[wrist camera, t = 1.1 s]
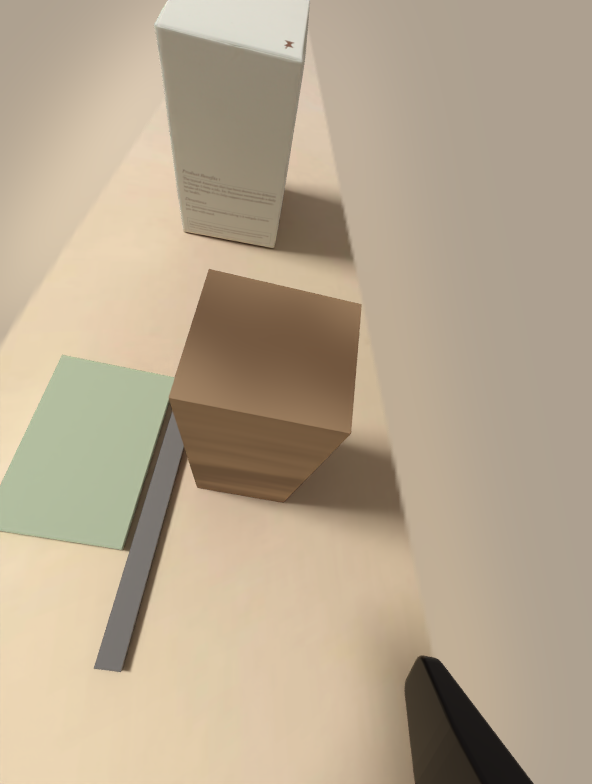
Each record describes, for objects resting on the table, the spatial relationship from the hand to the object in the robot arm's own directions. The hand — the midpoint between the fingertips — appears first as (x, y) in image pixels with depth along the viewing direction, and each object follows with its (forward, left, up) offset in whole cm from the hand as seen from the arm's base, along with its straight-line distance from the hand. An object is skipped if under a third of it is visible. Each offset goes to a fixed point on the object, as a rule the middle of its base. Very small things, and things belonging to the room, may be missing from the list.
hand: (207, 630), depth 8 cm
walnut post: (+7, 0, -13) cm, 15 cm away
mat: (+6, +9, -13) cm, 17 cm away
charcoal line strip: (+7, +4, -13) cm, 16 cm away
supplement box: (+27, +5, -14) cm, 31 cm away
